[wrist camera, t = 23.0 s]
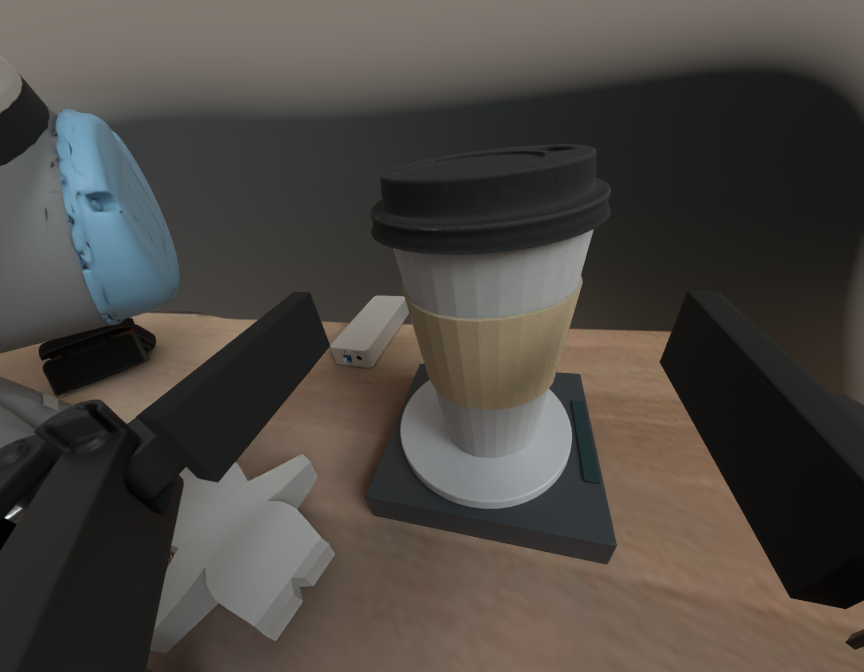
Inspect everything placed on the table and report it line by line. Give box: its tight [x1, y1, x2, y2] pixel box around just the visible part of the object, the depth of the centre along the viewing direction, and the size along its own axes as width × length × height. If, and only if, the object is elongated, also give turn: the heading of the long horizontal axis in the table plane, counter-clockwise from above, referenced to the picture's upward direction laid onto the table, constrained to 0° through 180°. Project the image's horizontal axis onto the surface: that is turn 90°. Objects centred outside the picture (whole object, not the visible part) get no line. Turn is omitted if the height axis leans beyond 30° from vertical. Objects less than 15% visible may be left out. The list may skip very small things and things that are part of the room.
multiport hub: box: [330, 296, 409, 368], centre depth 35 cm, size 4×11×2 cm, turn 163°
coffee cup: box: [371, 144, 611, 458], centre depth 16 cm, size 9×9×15 cm
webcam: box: [39, 318, 156, 396], centre depth 36 cm, size 9×6×6 cm
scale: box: [365, 364, 617, 564], centre depth 21 cm, size 13×12×3 cm
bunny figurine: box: [150, 454, 335, 654], centre depth 18 cm, size 10×5×15 cm
